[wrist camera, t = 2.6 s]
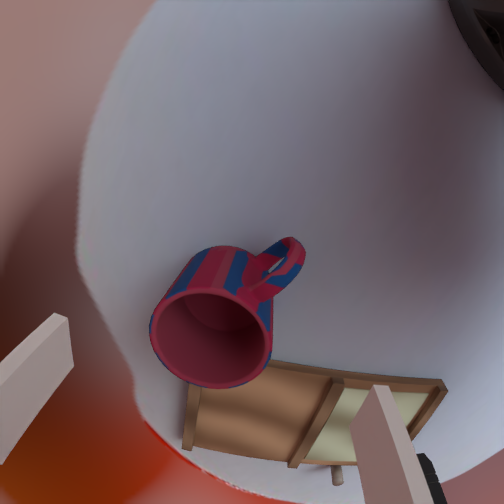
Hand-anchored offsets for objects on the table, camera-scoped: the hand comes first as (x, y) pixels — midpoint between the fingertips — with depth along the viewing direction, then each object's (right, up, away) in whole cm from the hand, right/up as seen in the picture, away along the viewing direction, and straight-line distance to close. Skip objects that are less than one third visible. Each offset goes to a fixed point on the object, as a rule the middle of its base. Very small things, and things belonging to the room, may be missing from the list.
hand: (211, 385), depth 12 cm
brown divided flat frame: (+7, -10, +14) cm, 19 cm away
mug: (+1, +4, +11) cm, 11 cm away
